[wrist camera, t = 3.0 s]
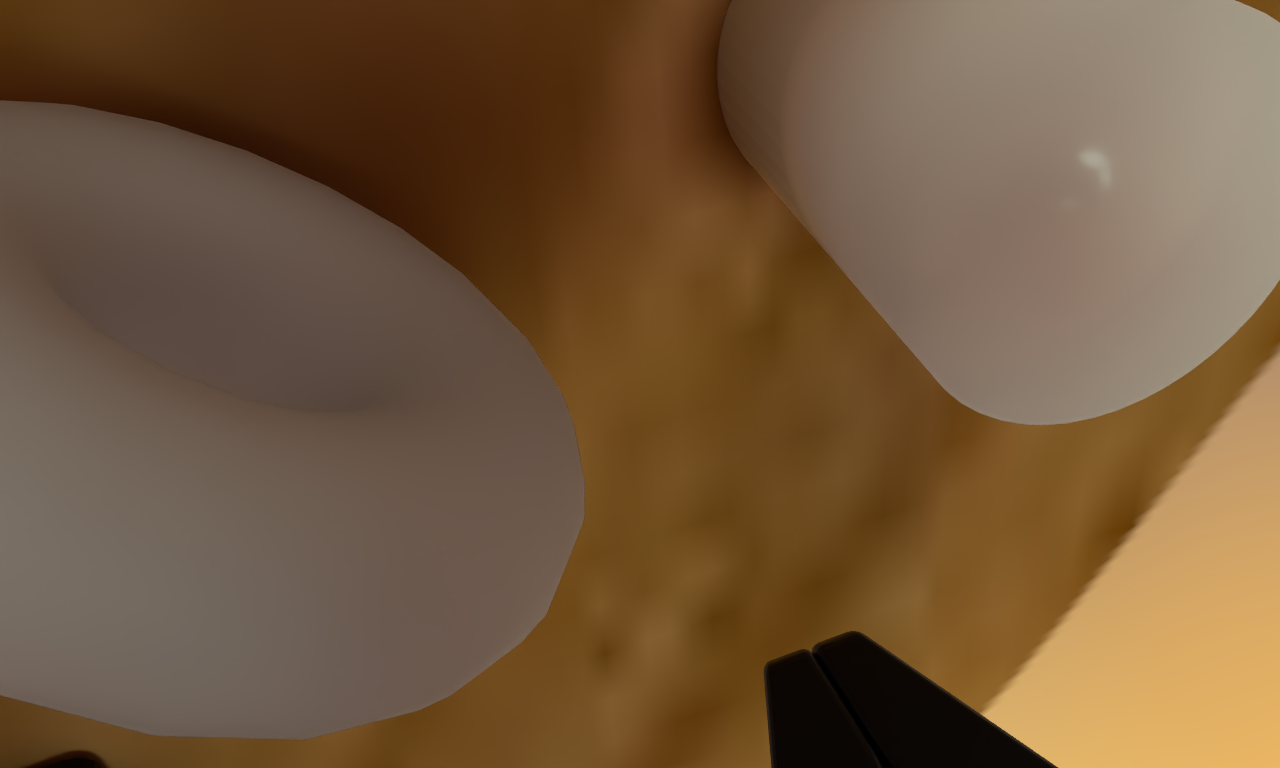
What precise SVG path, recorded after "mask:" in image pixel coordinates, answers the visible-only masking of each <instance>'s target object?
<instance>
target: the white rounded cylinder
mask: <svg viewBox="0 0 1280 768" xmlns="http://www.w3.org/2000/svg"><path fill="white" fill-rule="evenodd" d="M717 84H718V92H719V101H720V105H721V108H722V112H723V116H724V120H725V123H726V125H727V127H728V130H729V132H730V134H731V137H732V139H733V141H734V142H735V144H736V145H737V147H738V149H739V150H740V152H741V154H742V155H743V156H744V157H745V159H746V160H747V161H748V162H749V163H750V165H751V166H752V167H753V168H754V169H755V170H756V172H757V173H758V174H759V175H760V176H761V177H762V178H763V180H764V181H765V182H766V183H767V184H768V185H769V187H770V188H771V189H772V190H773V191H774V192H775V194H776V195H777V196H778V197H779V198H780V199H781V201H782V202H783V203H784V204H785V205H786V206H787V207H788V209H789V210H790V211H791V212H792V213H793V214H794V216H795V217H796V218H797V219H798V220H799V221H800V223H801V224H802V225H803V226H804V227H805V228H806V230H807V231H808V232H809V233H810V234H811V235H812V236H813V238H814V239H815V240H816V241H817V242H818V243H819V245H820V246H821V247H822V248H823V249H824V250H825V252H826V253H827V254H828V255H829V256H830V257H831V259H832V260H833V261H834V262H835V263H836V264H837V265H838V267H839V268H840V269H841V270H842V271H843V272H844V274H845V275H846V276H847V277H848V278H849V279H850V281H851V282H852V283H853V284H854V285H855V286H856V288H857V289H858V290H859V291H860V292H861V293H862V294H863V296H864V297H865V298H866V299H867V300H868V301H869V303H870V304H871V305H872V306H873V307H874V308H875V310H876V311H877V312H878V313H879V314H880V315H881V317H882V318H883V319H884V320H885V321H886V322H887V323H888V325H889V326H890V327H891V328H892V329H893V330H894V332H895V333H896V334H897V335H898V336H899V337H900V339H901V340H902V341H903V342H904V343H905V344H906V346H907V347H908V348H909V349H910V350H911V351H912V352H913V354H914V355H915V356H916V357H917V358H918V359H919V361H920V362H921V363H922V364H923V365H924V366H925V368H926V369H927V370H928V371H929V372H930V373H931V375H932V376H933V377H934V378H935V379H936V380H937V381H938V383H939V384H940V385H941V386H942V387H943V388H944V390H946V391H947V392H948V393H949V394H950V395H952V396H953V397H954V398H955V399H957V400H958V401H959V402H960V403H962V404H964V405H966V406H967V407H969V408H971V409H973V410H975V411H976V412H978V413H981V414H983V415H986V416H989V417H992V418H995V419H998V420H1002V421H1007V422H1013V423H1018V424H1031V425H1051V424H1062V423H1071V422H1076V421H1081V420H1086V419H1090V418H1094V417H1098V416H1101V415H1104V414H1107V413H1110V412H1114V411H1117V410H1119V409H1122V408H1124V407H1126V406H1129V405H1131V404H1133V403H1136V402H1138V401H1140V400H1143V399H1144V398H1146V397H1148V396H1150V395H1152V394H1154V393H1156V392H1158V391H1159V390H1161V389H1163V388H1165V387H1167V386H1168V385H1170V384H1171V383H1173V382H1175V381H1176V380H1178V379H1179V378H1181V377H1182V376H1184V375H1185V374H1187V373H1188V372H1190V371H1191V370H1193V369H1194V368H1195V367H1196V366H1198V365H1199V364H1200V363H1202V362H1203V361H1204V360H1206V359H1207V358H1208V357H1209V356H1211V355H1212V354H1213V353H1214V352H1215V351H1216V350H1218V349H1219V348H1220V347H1221V346H1222V345H1223V344H1224V343H1225V342H1226V341H1227V340H1229V339H1230V338H1231V337H1232V336H1233V335H1234V334H1235V333H1236V332H1237V331H1238V330H1239V329H1240V328H1241V327H1242V326H1243V324H1244V323H1245V322H1246V321H1247V320H1248V319H1249V318H1250V317H1251V316H1252V315H1253V314H1254V313H1255V311H1256V310H1257V309H1258V308H1259V306H1260V305H1261V304H1262V303H1263V301H1264V300H1265V299H1266V298H1267V296H1268V295H1269V294H1270V293H1271V291H1272V290H1273V289H1274V287H1275V286H1276V284H1277V283H1278V281H1279V280H1280V23H1279V22H1278V21H1276V20H1275V19H1273V18H1272V17H1270V16H1269V15H1267V14H1266V13H1263V12H1261V11H1259V10H1256V9H1254V8H1252V7H1249V6H1247V5H1245V4H1242V3H1240V2H1238V1H1235V0H731V2H730V4H729V7H728V10H727V12H726V15H725V19H724V23H723V27H722V31H721V35H720V41H719V49H718V56H717Z"/></svg>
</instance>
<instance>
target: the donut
mask: <svg viewBox="0 0 1280 768" xmlns="http://www.w3.org/2000/svg"><path fill="white" fill-rule="evenodd" d="M584 501H585V482H584V476H583V471H582V466H581V460H580V455H579V449H578V444H577V438H576V433H575V427H574V423H573V420H572V418H571V415H570V412H569V410H568V407H567V405H566V402H565V399H564V397H563V394H562V393H561V391H560V389H559V388H558V386H557V385H556V383H555V381H554V380H553V378H552V377H551V375H550V373H549V372H548V370H547V369H546V367H545V365H544V364H543V362H542V360H541V359H540V357H539V356H538V354H537V352H536V351H535V349H534V348H533V346H532V344H531V343H530V341H529V340H528V339H527V338H526V337H525V336H524V335H523V334H522V333H521V332H520V331H519V330H518V329H517V328H516V327H515V326H514V325H513V324H512V323H511V322H510V321H509V320H508V319H507V318H506V317H505V316H504V315H503V314H502V313H501V312H500V311H499V310H498V309H497V308H496V307H495V306H494V305H493V304H492V303H491V302H490V301H489V300H488V299H487V298H486V297H485V296H484V295H483V294H482V293H481V292H480V291H479V290H478V289H477V288H476V287H475V286H474V285H473V284H472V283H471V281H470V280H469V279H468V278H467V277H466V276H465V275H464V274H463V273H461V272H460V271H458V270H457V269H456V268H454V267H453V266H452V265H450V264H449V263H448V262H446V261H445V260H444V259H442V258H441V257H439V256H438V255H437V254H435V253H434V252H433V251H431V250H430V249H429V248H427V247H426V246H425V245H423V244H422V243H420V242H419V241H418V240H416V239H415V238H414V237H412V236H411V235H410V234H408V233H407V232H406V231H404V230H403V229H401V228H400V227H398V226H396V225H395V224H393V223H391V222H389V221H388V220H386V219H384V218H382V217H381V216H379V215H377V214H375V213H374V212H372V211H370V210H368V209H367V208H365V207H363V206H361V205H360V204H358V203H356V202H354V201H353V200H351V199H349V198H347V197H346V196H344V195H342V194H340V193H339V192H337V191H335V190H333V189H332V188H330V187H328V186H326V185H324V184H321V183H319V182H317V181H315V180H312V179H310V178H308V177H305V176H303V175H301V174H299V173H296V172H294V171H292V170H290V169H287V168H285V167H283V166H280V165H278V164H276V163H274V162H271V161H269V160H267V159H265V158H262V157H260V156H258V155H256V154H253V153H251V152H249V151H246V150H243V149H240V148H237V147H234V146H231V145H228V144H225V143H222V142H219V141H216V140H213V139H209V138H206V137H203V136H200V135H197V134H194V133H191V132H188V131H185V130H182V129H179V128H176V127H172V126H169V125H166V124H163V123H160V122H155V121H150V120H145V119H140V118H135V117H131V116H126V115H121V114H116V113H111V112H106V111H101V110H96V109H91V108H86V107H81V106H76V105H70V104H57V103H44V102H24V101H5V100H0V695H1V696H5V697H9V698H12V699H16V700H20V701H24V702H28V703H31V704H35V705H39V706H43V707H46V708H50V709H54V710H58V711H62V712H65V713H69V714H73V715H77V716H81V717H84V718H88V719H92V720H96V721H99V722H103V723H107V724H111V725H115V726H118V727H122V728H126V729H130V730H134V731H137V732H141V733H145V734H149V735H153V736H181V737H219V738H257V739H294V740H307V739H311V738H314V737H318V736H322V735H326V734H330V733H334V732H338V731H342V730H345V729H349V728H353V727H357V726H361V725H365V724H369V723H373V722H376V721H380V720H384V719H388V718H392V717H396V716H400V715H403V714H407V713H411V712H415V711H419V710H421V709H423V708H425V707H427V706H429V705H431V704H434V703H436V702H438V701H440V700H442V699H444V698H446V697H448V696H451V695H452V694H453V693H455V692H456V691H457V690H459V689H460V688H461V687H463V686H464V685H465V684H467V683H468V682H469V681H471V680H472V679H473V678H475V677H476V676H477V675H479V674H480V673H481V672H483V671H484V670H485V669H487V668H488V667H489V666H491V665H492V664H493V663H495V662H496V661H497V660H499V659H500V658H501V657H503V656H504V655H505V654H507V653H508V652H509V651H511V650H512V649H513V648H515V647H516V646H517V645H519V644H520V643H521V642H522V641H523V640H524V639H525V638H526V637H527V636H528V634H529V633H530V632H531V631H532V630H533V629H534V628H535V627H536V626H537V625H538V623H539V622H540V621H541V620H542V619H543V618H544V617H545V616H546V614H547V612H548V609H549V607H550V604H551V602H552V599H553V597H554V594H555V592H556V589H557V587H558V584H559V582H560V579H561V577H562V574H563V572H564V569H565V567H566V564H567V562H568V559H569V557H570V554H571V552H572V549H573V547H574V544H575V542H576V539H577V536H578V534H579V531H580V529H581V526H582V524H583V521H584Z"/></svg>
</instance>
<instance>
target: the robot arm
mask: <svg viewBox="0 0 1280 768" xmlns="http://www.w3.org/2000/svg"><path fill="white" fill-rule="evenodd" d="M764 682H765V694H766V706H767V718H768V731H769V743H770V755H771V767H772V768H1058V767H1056V766H1055V765H1053V764H1052V763H1050V762H1049V761H1047V760H1046V759H1045V758H1043V757H1042V756H1040V755H1039V754H1037V753H1036V752H1034V751H1033V750H1032V749H1030V748H1029V747H1027V746H1026V745H1024V744H1023V743H1021V742H1020V741H1018V740H1017V739H1016V738H1014V737H1013V736H1011V735H1010V734H1008V733H1007V732H1005V731H1004V730H1002V729H1001V728H1000V727H998V726H997V725H995V724H994V723H992V722H991V721H989V720H988V719H986V718H985V717H984V716H982V715H981V714H979V713H978V712H976V711H975V710H973V709H972V708H970V707H969V706H968V705H966V704H965V703H963V702H962V701H960V700H959V699H957V698H956V697H954V696H953V695H952V694H950V693H949V692H947V691H946V690H944V689H943V688H941V687H940V686H938V685H937V684H936V683H934V682H933V681H931V680H930V679H928V678H927V677H925V676H924V675H922V674H921V673H920V672H918V671H917V670H915V669H914V668H912V667H911V666H909V665H908V664H906V663H905V662H904V661H902V660H901V659H899V658H898V657H896V656H895V655H893V654H892V653H891V652H889V651H888V650H886V649H885V648H883V647H882V646H880V645H879V644H877V643H876V642H875V641H873V640H872V639H870V638H869V637H867V636H866V635H864V634H862V633H860V632H856V631H850V632H846V633H843V634H841V635H838V636H835V637H833V638H830V639H827V640H825V641H822V642H819V643H817V644H816V645H814V647H813V648H812V653H811V652H810V651H809V650H806V649H801V650H798V651H795V652H792V653H790V654H787V655H784V656H782V657H779V658H776V659H774V660H771V661H769V662H767V663H766V665H765V667H764ZM45 768H103V767H102V766H101V765H99V764H98V763H97V762H95V761H92V760H89V759H86V758H74V759H69V760H65V761H62V762H59V763H56V764H54V765H51V766H48V767H45Z"/></svg>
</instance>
